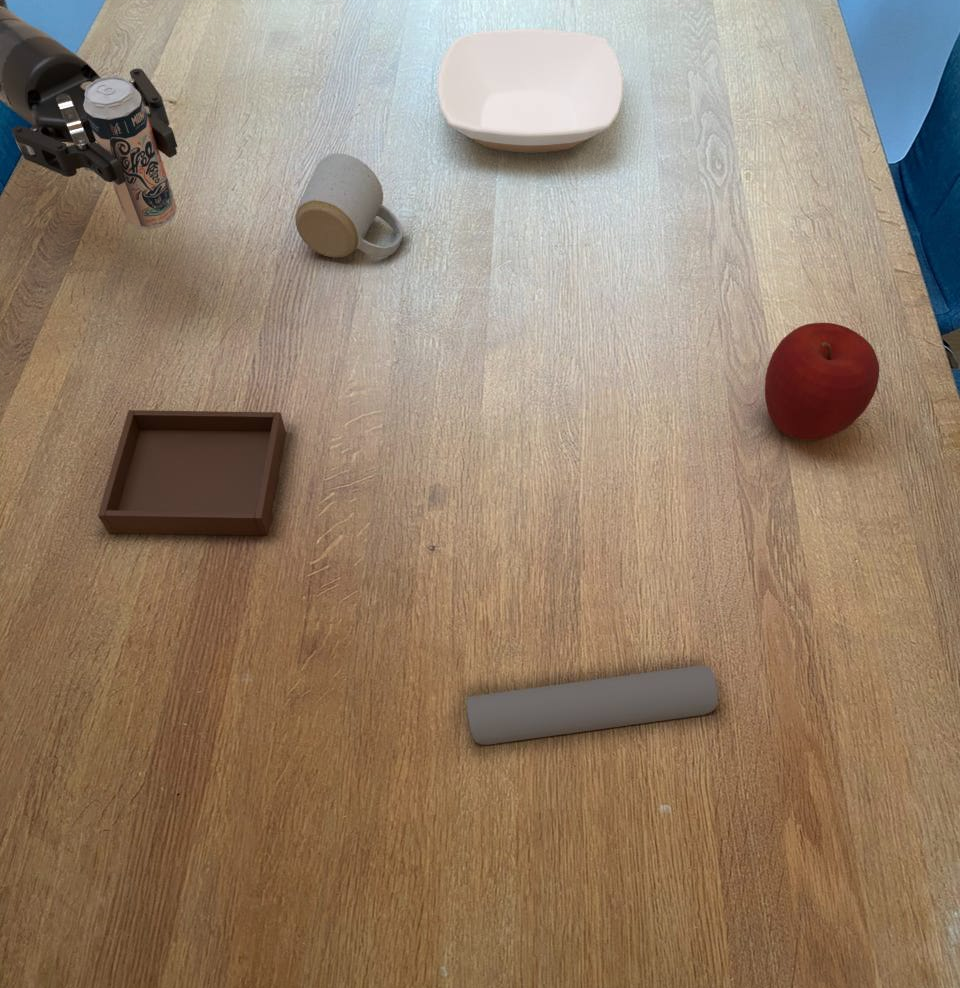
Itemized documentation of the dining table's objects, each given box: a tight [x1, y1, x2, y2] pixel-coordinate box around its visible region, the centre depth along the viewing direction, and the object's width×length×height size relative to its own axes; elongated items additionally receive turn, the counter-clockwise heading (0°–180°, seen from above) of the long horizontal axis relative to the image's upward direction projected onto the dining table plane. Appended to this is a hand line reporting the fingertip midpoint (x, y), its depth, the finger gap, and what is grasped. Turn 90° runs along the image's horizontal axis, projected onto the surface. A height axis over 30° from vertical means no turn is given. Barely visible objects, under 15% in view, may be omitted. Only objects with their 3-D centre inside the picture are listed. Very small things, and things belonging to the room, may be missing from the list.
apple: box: [764, 322, 880, 441], centre depth 85 cm, size 10×10×10 cm
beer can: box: [83, 75, 178, 229], centre depth 83 cm, size 5×5×12 cm
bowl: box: [437, 28, 624, 154], centre depth 112 cm, size 22×22×5 cm
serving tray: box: [97, 409, 287, 537], centre depth 85 cm, size 14×12×3 cm
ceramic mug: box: [294, 153, 404, 258], centre depth 100 cm, size 11×8×8 cm
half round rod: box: [465, 664, 719, 746], centre depth 73 cm, size 4×20×2 cm, turn 98°
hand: (145, 159), depth 82 cm, fingers closed on beer can, 4 cm apart
